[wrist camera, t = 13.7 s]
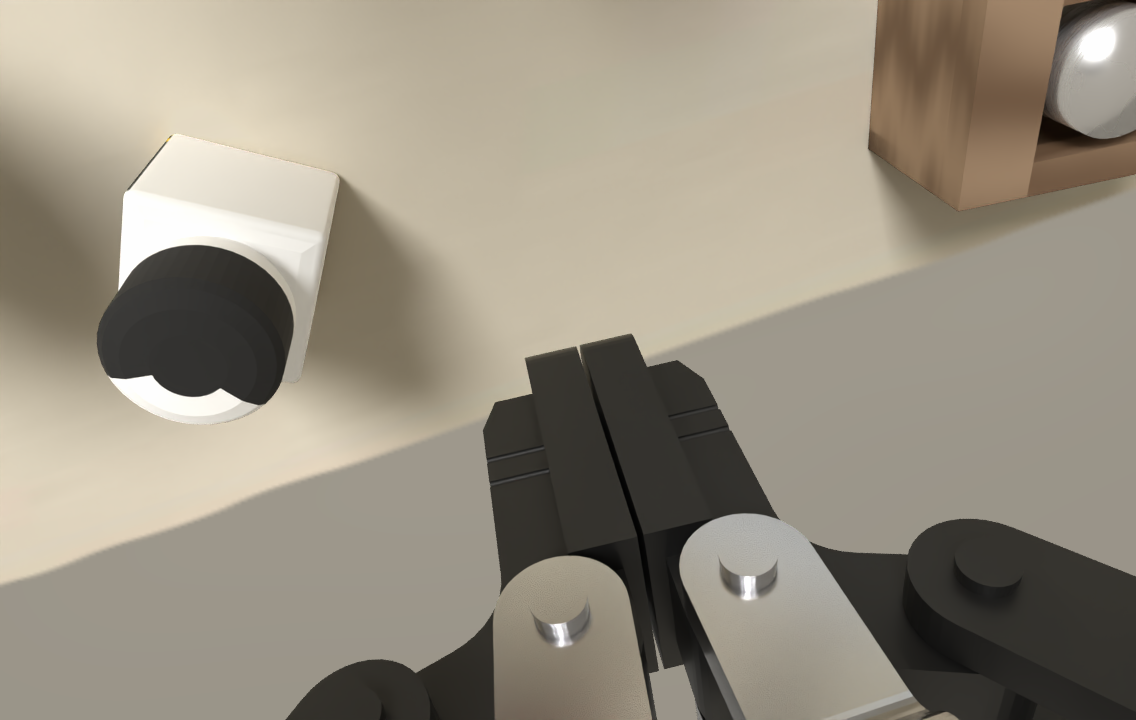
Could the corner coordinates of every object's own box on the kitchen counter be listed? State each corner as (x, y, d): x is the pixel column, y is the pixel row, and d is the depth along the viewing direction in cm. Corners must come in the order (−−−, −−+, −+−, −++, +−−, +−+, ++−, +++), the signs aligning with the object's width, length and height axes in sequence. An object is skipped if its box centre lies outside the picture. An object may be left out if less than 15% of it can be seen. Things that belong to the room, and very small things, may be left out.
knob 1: (1000, -1, 33) (1083, 22, 29) (1109, -23, 34) (1207, -2, 29) (983, 113, 36) (1057, 149, 32) (1084, 92, 36) (1170, 125, 32)
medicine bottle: (171, 129, 34) (72, 249, 24) (341, 171, 36) (315, 298, 27) (159, 274, 38) (68, 432, 28) (315, 305, 40) (283, 462, 30)
